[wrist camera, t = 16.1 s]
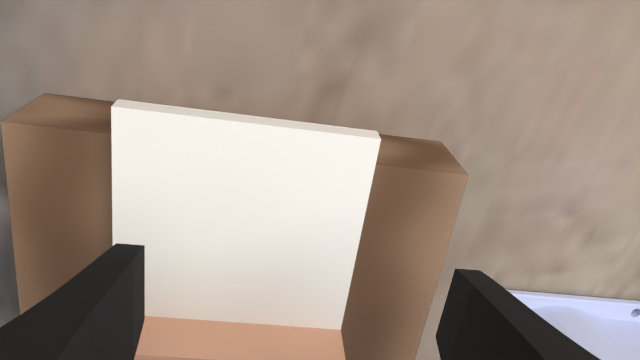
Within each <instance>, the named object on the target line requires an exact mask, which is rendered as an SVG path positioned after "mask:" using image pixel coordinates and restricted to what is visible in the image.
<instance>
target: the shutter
mask: <svg viewBox="0 0 640 360" xmlns="http://www.w3.org/2000/svg"><path fill="white" fill-rule="evenodd" d="M111 142H112V237H113V245H115V244H116V243H119V244H132V245H145V320H144V324H143V328H142V331H141V335H140V339H139V343H138V347H137V350H136V354H135V358H134V360H346V359H345V353H344V347H343V341H342V335H341V326H342V322H343V317H344V312H345V307H346V303H347V298H348V293H349V289H350V284H351V279H352V274H353V270H354V265H355V260H356V255H357V251H358V246H359V241H360V237H361V232H362V227H363V222H364V218H365V213H366V208H367V204H368V199H369V194H370V189H371V185H372V180H373V175H374V171H375V166H376V161H377V156H378V152H379V147H380V142H381V138H380V136H379V134H378V132H377V131H372V130H364V129H356V128H347V127H339V126H331V125H323V124H315V123H307V122H299V121H291V120H282V119H274V118H266V117H258V116H250V115H242V114H234V113H226V112H217V111H209V110H201V109H193V108H185V107H177V106H169V105H161V104H152V103H144V102H136V101H128V100H120V99H118V100H117V101H116V102H115V103H114V104H113V105H112V106H111Z"/></svg>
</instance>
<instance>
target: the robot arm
mask: <svg viewBox="0 0 640 360" xmlns="http://www.w3.org/2000/svg"><path fill="white" fill-rule="evenodd" d="M633 310H634V311H633ZM144 320H145V245H132V244H119V243H116V244H115V245H113V246H112V247H111V248H109V249H108V250H107V251H105V252H104V253H103V254H102V255H100V256H99V257H98V258H97V259H95V260H94V261H93V262H92V263H90V264H89V265H88V266H87V267H85V268H84V269H83V270H82V271H80V272H79V273H78V274H77V275H75V276H74V277H73V278H71V279H70V280H69V281H67V282H66V283H65V284H63V285H62V286H61V287H59V288H58V289H57V290H56V291H54V292H53V293H52V294H50V295H49V296H47V297H46V298H44V299H43V300H41V301H40V302H39V303H37V304H36V305H34V306H33V307H31V308H30V309H28V310H27V311H25V312H24V313H22V314H21V315H20V316H18V317H17V318H15V319H13V320H12V321H10V322H9V323H7V324H5V325H4V326H2V327H1V328H0V360H134V358H135V354H136V350H137V347H138V343H139V339H140V335H141V331H142V328H143V324H144ZM436 340H437V344H438V349H439V353H440V358H441V360H640V301H634V300H622V299H611V298H599V297H587V296H575V295H564V294H552V293H540V292H528V291H517V290H506V289H505V288H503V287H502V286H501V285H499V284H498V283H497V282H495V281H494V280H493V279H491V278H490V277H488V276H487V275H486V274H484V273H483V272H481V271H478V270H465V269H455V271H454V275H453V278H452V282H451V285H450V289H449V292H448V296H447V299H446V302H445V306H444V309H443V313H442V316H441V320H440V323H439V326H438V330H437V333H436Z"/></svg>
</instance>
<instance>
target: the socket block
mask: <svg viewBox="0 0 640 360" xmlns="http://www.w3.org/2000/svg"><path fill="white" fill-rule="evenodd" d="M114 103H115V102H111V101H103V100H95V99H87V98H79V97H70V96H62V95H54V94H46V93H45V94H43V95H41V96H40V97H38V98H37V99H35V100H34V101H32V102H31V103H29V104H27V105H26V106H24V107H23V108H21V109H20V110H18V111H17V112H15V113H13V114H12V115H10V116H9V117H7V118H6V119H4V120H3V121H1V129H2V139H3V149H4V159H5V169H6V179H7V189H8V199H9V209H10V219H11V229H12V239H13V249H14V259H15V269H16V279H17V289H18V299H19V309H20V315H21V314H22V313H24V312H25V311H27V310H28V309H30V308H31V307H33V306H34V305H36V304H37V303H39V302H40V301H41V300H43V299H44V298H46V297H47V296H49V295H50V294H52V293H53V292H54V291H56V290H57V289H58V288H59V287H61V286H62V285H63V284H65V283H66V282H67V281H69V280H70V279H71V278H73V277H74V276H75V275H77V274H78V273H79V272H80V271H82V270H83V269H84V268H85V267H87V266H88V265H89V264H90V263H92V262H93V261H94V260H95V259H97V258H98V257H99V256H100V255H102V254H103V253H104V252H105V251H107V250H108V249H109V248H111V247H112V246H113V237H112V142H111V106H112V105H113V104H114ZM379 136H380V138H381V142H380V147H379V152H378V156H377V161H376V166H375V171H374V175H373V180H372V185H371V189H370V194H369V199H368V204H367V208H366V213H365V218H364V222H363V227H362V232H361V237H360V241H359V246H358V251H357V255H356V260H355V265H354V270H353V274H352V279H351V284H350V289H349V293H348V298H347V303H346V307H345V312H344V317H343V322H342V326H341V335H342V341H343V347H344V353H345V359H346V360H415V357H416V353H417V350H418V346H419V343H420V340H421V336H422V333H423V329H424V326H425V323H426V319H427V316H428V312H429V309H430V305H431V302H432V299H433V295H434V292H435V288H436V285H437V282H438V278H439V275H440V271H441V268H442V264H443V261H444V258H445V254H446V251H447V247H448V244H449V241H450V237H451V234H452V230H453V227H454V224H455V220H456V217H457V213H458V210H459V206H460V203H461V200H462V196H463V193H464V189H465V186H466V183H467V179H468V176H469V175H468V174H467V173H466V171H465V170H464V169H463V168H462V167H461V165H460V164H459V163H458V162H457V160H456V159H455V158H454V157H453V156H452V154H451V153H450V152H449V151H448V150H447V148H446V147H445V146H444V145H443V144H442V142H438V141H430V140H422V139H414V138H406V137H397V136H389V135H381V134H379Z"/></svg>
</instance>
